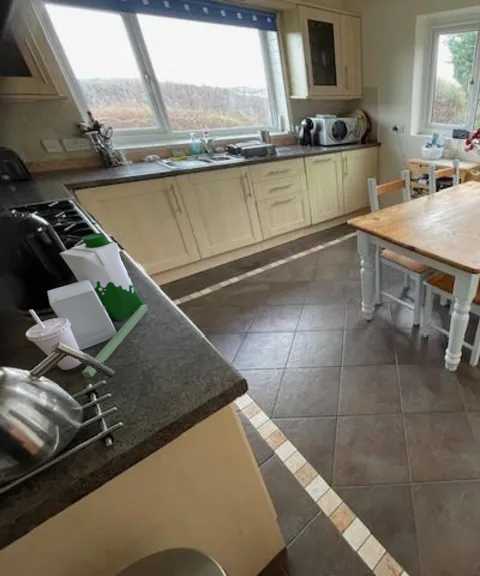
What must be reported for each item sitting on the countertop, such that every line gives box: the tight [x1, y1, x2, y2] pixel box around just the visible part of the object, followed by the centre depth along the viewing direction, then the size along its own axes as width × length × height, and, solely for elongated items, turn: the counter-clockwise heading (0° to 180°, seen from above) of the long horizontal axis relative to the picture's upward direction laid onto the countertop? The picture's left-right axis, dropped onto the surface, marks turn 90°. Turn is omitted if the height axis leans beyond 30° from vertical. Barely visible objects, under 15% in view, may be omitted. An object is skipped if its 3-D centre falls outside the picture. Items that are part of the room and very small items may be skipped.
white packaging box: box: [46, 279, 118, 351], centre depth 73 cm, size 7×7×13 cm
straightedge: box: [81, 304, 149, 379], centre depth 75 cm, size 1×24×2 cm, turn 8°
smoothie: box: [25, 309, 83, 371], centre depth 65 cm, size 6×6×14 cm
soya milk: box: [59, 232, 145, 322], centre depth 80 cm, size 9×9×20 cm
